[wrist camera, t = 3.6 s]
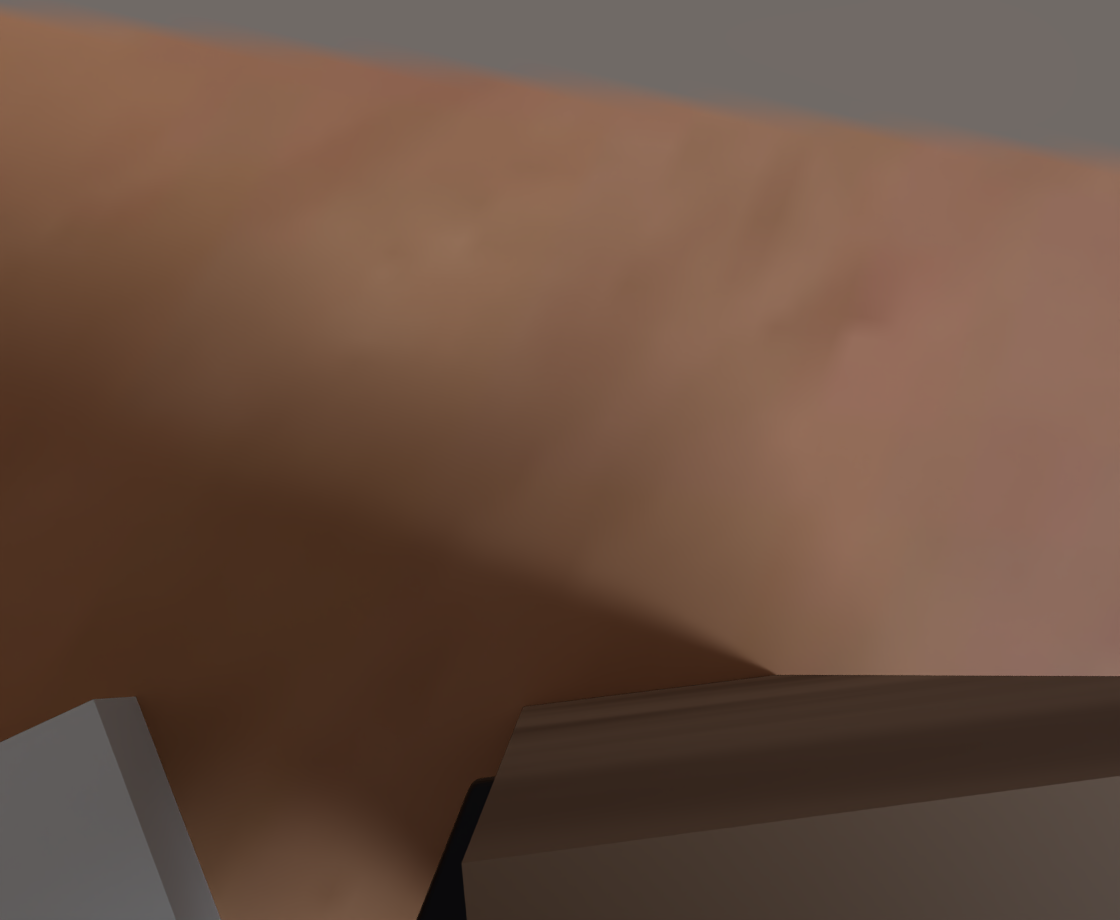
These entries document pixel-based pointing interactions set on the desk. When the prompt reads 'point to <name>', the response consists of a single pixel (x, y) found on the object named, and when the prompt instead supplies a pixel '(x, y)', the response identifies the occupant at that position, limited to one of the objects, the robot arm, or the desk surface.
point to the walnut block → (809, 803)
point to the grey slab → (94, 823)
